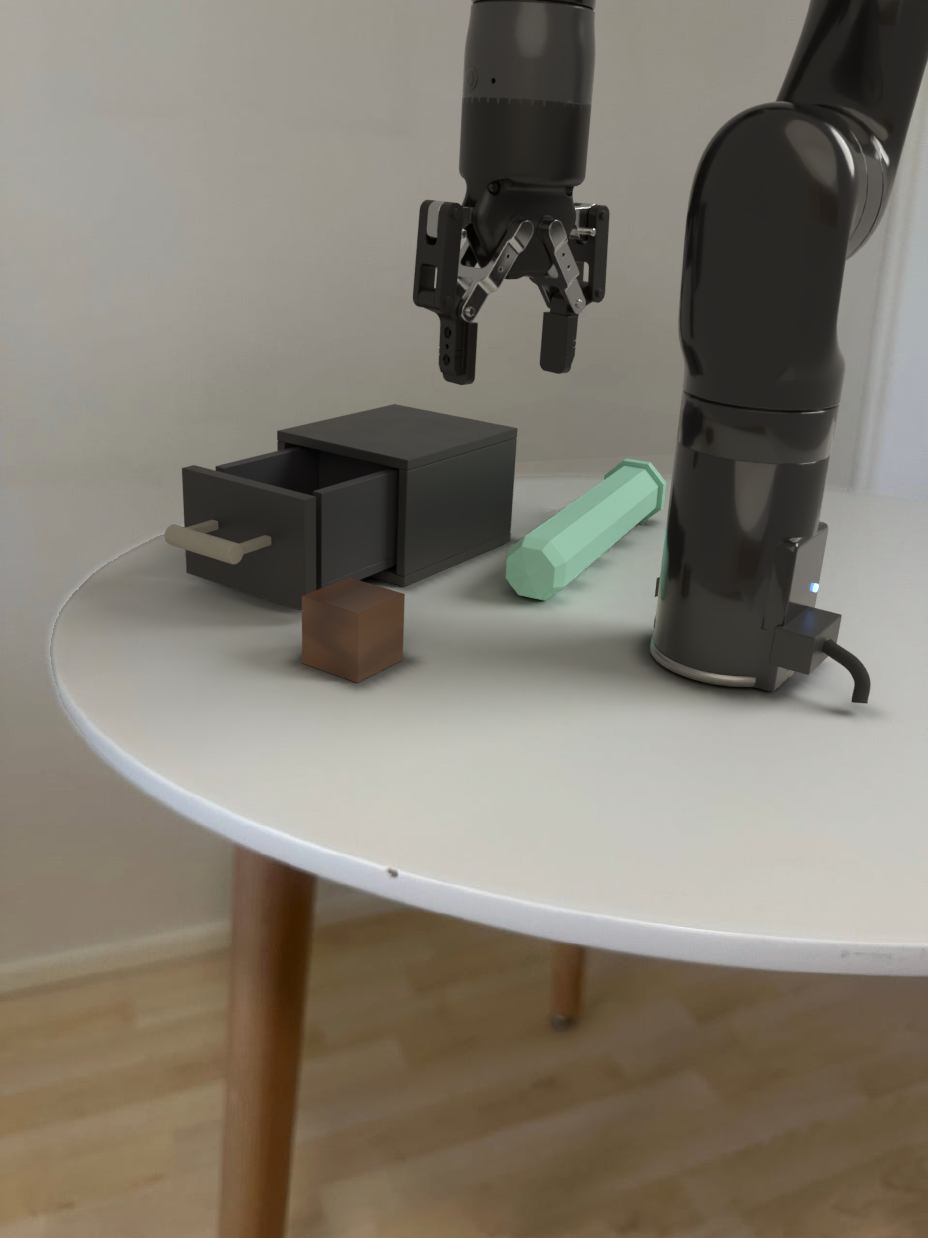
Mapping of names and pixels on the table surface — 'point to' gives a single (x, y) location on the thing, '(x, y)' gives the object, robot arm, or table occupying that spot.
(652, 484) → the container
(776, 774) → the table surface
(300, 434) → the small storage cabinet
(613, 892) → the table surface
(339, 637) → the block
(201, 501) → the drawer
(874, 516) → the table surface
